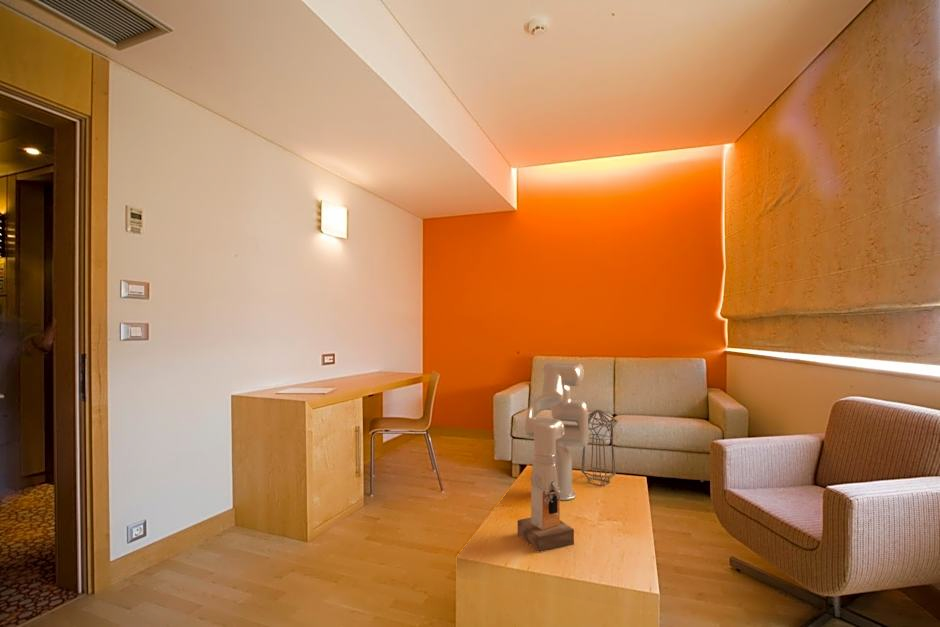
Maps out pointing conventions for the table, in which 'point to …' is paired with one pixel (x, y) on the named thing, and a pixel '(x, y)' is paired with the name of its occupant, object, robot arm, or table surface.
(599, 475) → the geometric lantern
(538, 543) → the walnut plinth
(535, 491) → the small box
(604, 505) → the table surface
